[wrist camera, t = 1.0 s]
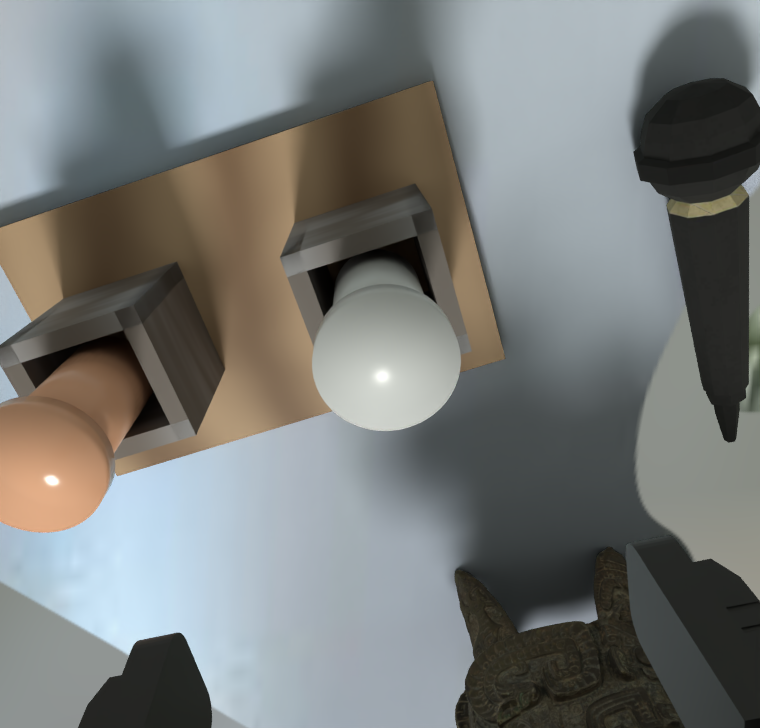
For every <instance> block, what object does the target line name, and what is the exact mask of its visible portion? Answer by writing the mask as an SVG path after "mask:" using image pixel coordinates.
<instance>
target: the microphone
mask: <svg viewBox="0 0 760 728" xmlns="http://www.w3.org/2000/svg"><path fill="white" fill-rule="evenodd" d="M634 157H635V162H636V167H637V170H638V174H639V177H640V180H641V181H645V182H650V183H651V185H652V186H653V187H654V188H655V190H656V191H657V192H658V193H659V194H661V195H664V196H666V197H668V198H670V200H669V202H668V203H667V210H668V215H669V220H670V226H671V231H672V236H673V241H674V246H675V251H676V256H677V261H678V266H679V271H680V276H681V281H682V286H683V291H684V296H685V301H686V306H687V312H688V317H689V322H690V326H691V332H692V337H693V341H694V347H695V352H696V357H697V362H698V367H699V372H700V377H701V382H702V386H703V389H704V390H705V391H706V394H707V396H708V398H709V400H710V402H711V404H713V405H714V409H715V414H716V416H717V420H718V423H719V425H720V429H721V432H722V435H723V438H724V440H725V441H727V442H734V441H735V440H736V435H737V427H738V418H739V410H740V403H739V402H740V401H742V400H744V399H745V398H746V390H745V388H746V387H747V385H748V384H749V195H748V193H747V192H746V190H745V189H744V187H743V186H742V185H741V184H742V183H743V182H745V181H746V180H747V179H748V178H749V177H750V176H751V175H752V174H753V173H754V172H755V171H757V170H758V168H759V165H760V107H759V105H758V103H757V101H756V100H755V98H754V96H753V94H752V93H751V92H750V91H749V90H748V89H747V88H746V87H744V86H741V85H739V84H736V83H734V82H732V81H729V80H727V79H724V78H710V79H705V80H700V81H695V82H691V83H688V84H685V85H683V86H680V87H677V88H675V89H673V90H671V91H670V92H668V93H667V94H666V95H664V96H663V97H662V98H661V99H660V100H659V102H658V103H657V104H656V105H655V106H654V107H653V108H652V109H651V110H650V111H649V112H648V113H647V114H646V116H645V119H644V123H643V127H642V131H641V143H640V147H639V148H638V149H637V150H635V151H634Z"/></svg>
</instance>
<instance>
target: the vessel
mask: <svg viewBox="0 0 760 728" xmlns="http://www.w3.org/2000/svg"><path fill="white" fill-rule="evenodd" d="M455 583H456V587H457V592H458V598H459V601H460V608H461V611H462V614H463V617H464V619H465V622H466V627H467V630H468V632H469V635H470V639H471V643H472V646H473V655H474V659H475V660H474V662H473V663H472V665H471V666H470V668H469V671H468V674H467V676H466V679H465V691H464V693H462V695H461V696H460V698H459V701H458V703H457V705H456V709H455V720H456V725H457V728H685V727H684V725H683V723H682V721H681V719H680V717H679V716H678V714H677V712H676V710H675V708H674V706H673V704H672V702H671V701H670V699H669V697H668V695H667V693H666V691H665V689H664V688H663V686H662V684H661V682H660V680H659V678H658V676H657V675H656V673H655V671H654V669H653V667H652V665H651V663H650V661H649V660H648V658H647V656H646V654H645V652H644V650H643V648H642V646H641V644H640V642H639V640H638V637H637V634H636V631H635V628H634V625H633V621H632V617H631V611H630V601H629V589H628V577H627V565H626V560H625V558H624V556H623V555H622V554H619V553H617V552H616V551H614V550H613V548H612V547H607V548H606V549H605V550H604V551H602V552H600V553H599V554H598V556H597V558H596V564H595V577H594V599H595V605H596V610H597V615H598V620H596V621H593V622H591V623H589V624H585V623H584V622H581V621H572V622H565V623H560V624H555V625H549V626H544V627H540V628H536V629H532V630H528V631H525V632H521V633H518V632H517V630H516V628H515V626H514V625H513V623H512V621H511V620H510V619H509V617H508V616H507V614H506V612H505V611H504V609H503V608H502V606H501V605H500V604H499V603H498V602H497V600H496V599H495V598H494V597H493V596H492V594H491V593H490V592H489V591H488V590H487V588H486V587H485V586H484V585H483V584H482V583H481V582H480V581H479V580H477V579H476V578H474V577H473V576H472V575H471V574H469V573H467V572H465V571H462V570H457V571H455Z"/></svg>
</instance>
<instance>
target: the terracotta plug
mask: <svg viewBox="0 0 760 728" xmlns="http://www.w3.org/2000/svg"><path fill="white" fill-rule="evenodd" d="M152 393H153V389H152V387H151V385H150V383H149V381H148V379H147V377H146V375H145V373H144V371H143V369H142V367H141V365H140V362H139V360H138V358H137V356H136V354H135V352H134V350H133V348H132V346H131V344H130V342H129V341H128V340H126V339H123V338H120V337H115V336H103V337H100V338H97V339H94V340H91V341H87V342H85V343H84V344H83V345H81V346H80V347H79V348H78V349H77V350H76V351H75V352H74V353H73V354H72V355H71V356H70V357H69V358H68V359H67V360H66V361H65V362H63V363H62V364H61V365H60V366H59V367H58V368H57V369H56V370H55V371H54V372H53V373H52V374H51V375H50V376H49V377H48V378H47V379H46V380H45V381H44V382H43V383H42V384H40V385H39V386H38V387H37V388H36V389H35V390H34V391H33V392H32V393H31V394H30V395H29V396H24V397H18V398H14V399H10V400H7V401H5V402H2V403H1V404H0V522H2V523H4V524H7V525H9V526H11V527H14V528H18V529H21V530H26V531H31V532H56V531H61V530H66V529H69V528H71V527H74V526H76V525H78V524H80V523H82V522H83V521H85V520H86V519H87V518H89V517H90V516H91V515H92V514H93V513H94V511H95V510H96V509H97V507H98V506H99V504H100V503H101V501H102V499H103V498H104V496H105V494H106V493H107V491H108V489H109V487H110V486H111V484H112V481H113V478H114V474H115V456H114V453H115V451H116V450H117V448H118V446H119V445H120V443H121V442H122V440H123V439H124V437H125V436H126V434H127V433H128V431H129V429H130V428H131V426H132V425H133V423H134V422H135V420H136V419H137V417H138V416H139V414H140V412H141V411H142V409H143V408H144V406H145V405H146V403H147V402H148V400H149V399H150V397H151V395H152Z"/></svg>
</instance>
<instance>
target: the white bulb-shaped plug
mask: <svg viewBox="0 0 760 728" xmlns="http://www.w3.org/2000/svg"><path fill="white" fill-rule="evenodd" d="M460 367H461V355H460V348H459V343H458V341H457V338H456V335H455V333H454V330H453V328H452V326H451V323H450V321H449V320H448V318H447V316H446V315H445V313H444V312H443V310H442V309H441V308H440V307H439V306H438V305H437V304H436V303H435V302H434V301H433V300H431V299H430V298H429V297H428V296H426V295H424V293H423V290H422V288H421V285H420V282H419V279H418V276H417V274H416V272H415V270H414V268H413V267H412V266H411V264H410V263H409V262H408V261H407V260H406V259H404V258H403V257H402V256H400V255H398V254H396V253H394V252H392V251H388V250H382V249H374V250H371V251H368V252H364V253H361V254H358V255H355V256H353V257H352V258H351V259H349V260H348V261H347V262H346V263H345V264H344V265H343V267H342V268H341V270H340V271H339V273H338V275H337V278H336V281H335V287H334V299H333V306H332V307H331V308H330V310H329V311H328V312H327V313H326V315H325V316H324V318H323V320H322V321H321V323H320V325H319V328H318V330H317V333H316V337H315V341H314V348H313V356H312V371H313V378H314V381H315V384H316V387H317V389H318V391H319V394H320V395H321V397H322V399H323V400H324V402H325V403H326V404H327V405H328V406H329V408H330V409H331V410H332V411H334V412H335V413H336V414H337V415H338V416H340V417H341V418H343V419H344V420H346V421H347V422H349V423H351V424H353V425H356V426H359V427H361V428H365V429H370V430H377V431H393V430H400V429H405V428H408V427H411V426H414V425H417V424H419V423H421V422H423V421H425V420H426V419H428V418H429V417H431V416H432V415H434V414H435V413H436V412H437V411H438V410H439V409H440V408H441V407H442V406H443V405H444V404H445V403H446V402H447V400H448V399H449V397H450V396H451V394H452V392H453V391H454V389H455V387H456V384H457V381H458V378H459V373H460Z"/></svg>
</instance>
